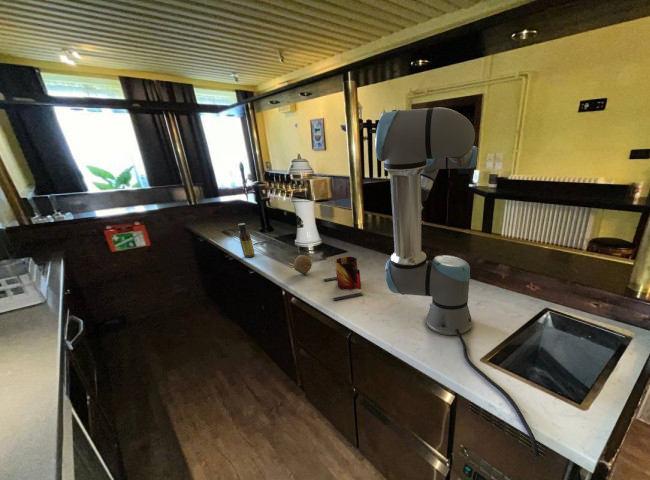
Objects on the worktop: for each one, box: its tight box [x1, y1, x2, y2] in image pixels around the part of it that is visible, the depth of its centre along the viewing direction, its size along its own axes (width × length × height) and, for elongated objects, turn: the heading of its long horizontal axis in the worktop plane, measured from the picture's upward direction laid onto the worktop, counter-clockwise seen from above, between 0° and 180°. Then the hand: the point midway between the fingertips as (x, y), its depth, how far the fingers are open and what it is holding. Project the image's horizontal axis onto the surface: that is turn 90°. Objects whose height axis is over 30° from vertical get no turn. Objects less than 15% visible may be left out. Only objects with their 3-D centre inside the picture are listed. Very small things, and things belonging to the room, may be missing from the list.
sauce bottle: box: [237, 222, 256, 258], centre depth 178 cm, size 6×6×20 cm
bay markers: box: [323, 276, 363, 302], centre depth 136 cm, size 24×12×1 cm, turn 20°
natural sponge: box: [293, 254, 313, 275], centre depth 150 cm, size 9×9×10 cm
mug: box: [334, 256, 362, 291], centre depth 134 cm, size 10×14×12 cm
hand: (400, 241), depth 132 cm, fingers closed
